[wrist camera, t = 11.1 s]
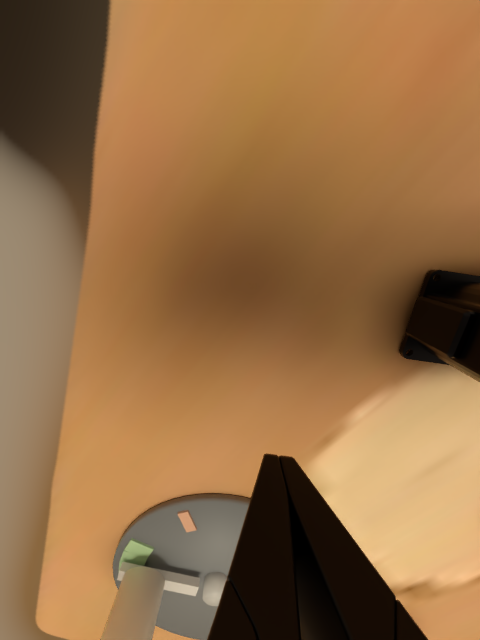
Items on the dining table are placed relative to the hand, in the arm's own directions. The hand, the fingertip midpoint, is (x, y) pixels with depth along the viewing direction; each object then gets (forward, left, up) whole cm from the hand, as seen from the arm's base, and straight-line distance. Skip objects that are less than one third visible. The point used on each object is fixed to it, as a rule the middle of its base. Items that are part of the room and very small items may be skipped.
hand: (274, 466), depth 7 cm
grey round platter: (0, +27, -12) cm, 29 cm away
